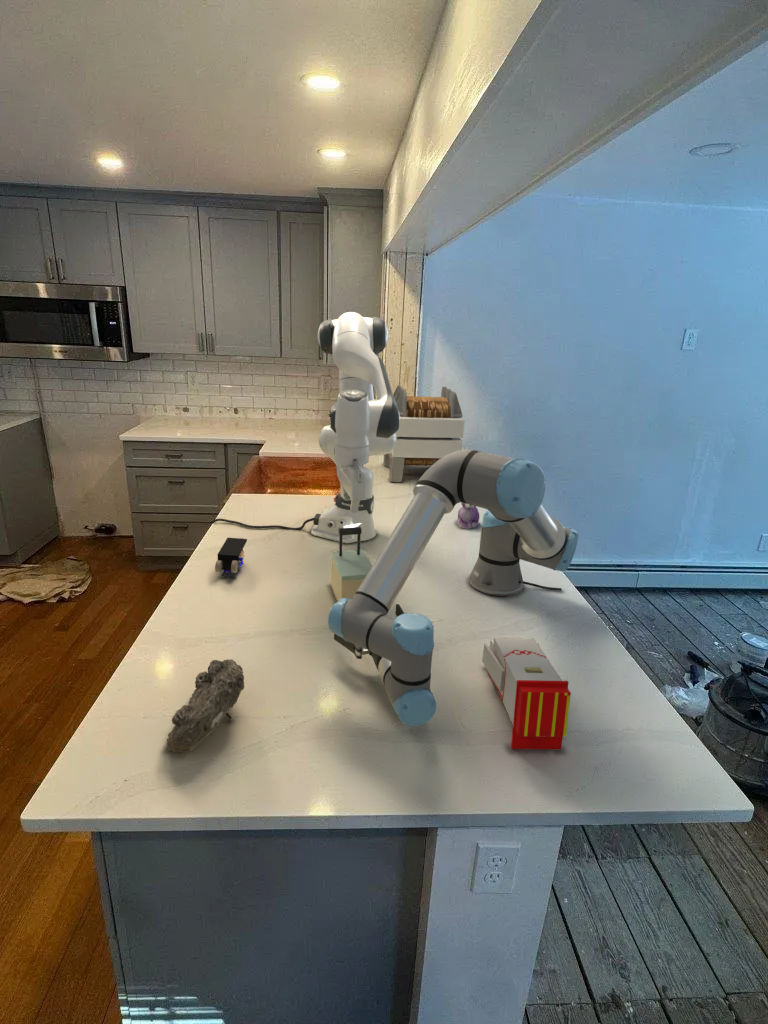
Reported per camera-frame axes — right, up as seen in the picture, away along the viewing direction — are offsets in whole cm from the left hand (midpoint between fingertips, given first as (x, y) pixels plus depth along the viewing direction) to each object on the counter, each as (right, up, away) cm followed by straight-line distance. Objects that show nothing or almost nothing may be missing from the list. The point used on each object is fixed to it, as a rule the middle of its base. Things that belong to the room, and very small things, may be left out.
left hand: (350, 505), depth 151 cm
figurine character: (-36, -19, +17) cm, 44 cm away
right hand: (+6, -26, -16) cm, 31 cm away
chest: (0, -25, +4) cm, 25 cm away
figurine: (+40, -7, +60) cm, 73 cm away
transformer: (+26, +17, +124) cm, 128 cm away
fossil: (-24, -41, -43) cm, 64 cm away
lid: (+1, -16, +1) cm, 16 cm away
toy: (+36, -41, -35) cm, 65 cm away
